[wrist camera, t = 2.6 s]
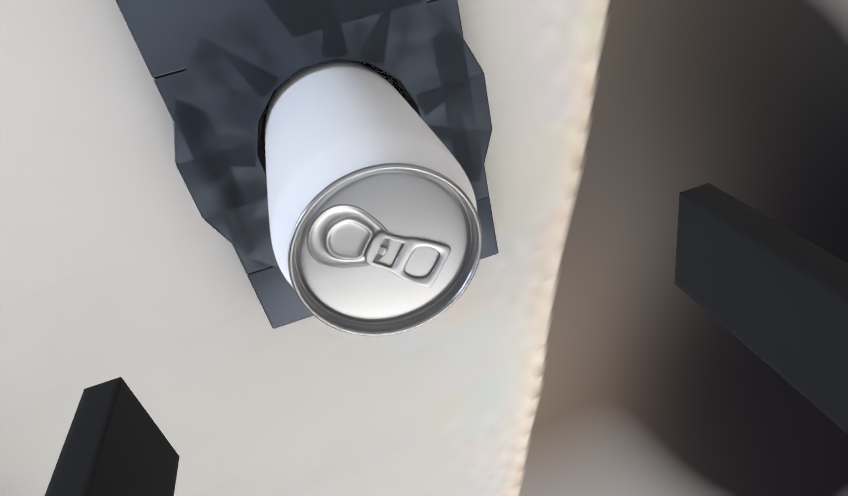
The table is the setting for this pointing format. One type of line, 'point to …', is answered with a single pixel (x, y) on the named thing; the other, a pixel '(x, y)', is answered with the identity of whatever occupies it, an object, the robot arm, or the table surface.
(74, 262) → the table surface
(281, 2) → the plate
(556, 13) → the table surface
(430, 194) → the can
